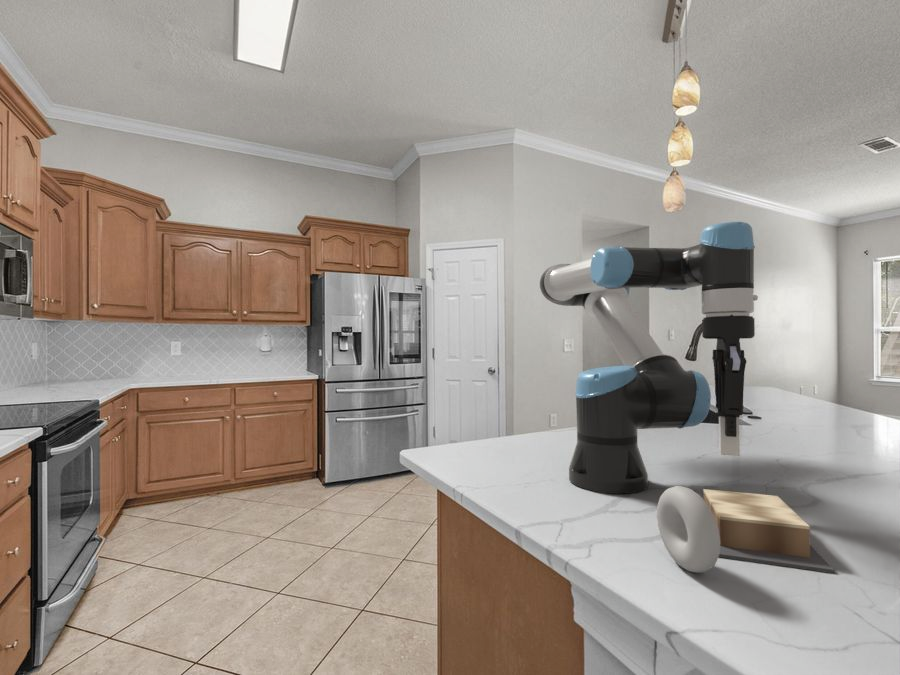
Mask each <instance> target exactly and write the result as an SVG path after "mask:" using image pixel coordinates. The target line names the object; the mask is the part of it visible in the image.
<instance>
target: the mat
mask: <svg viewBox="0 0 900 675" xmlns="http://www.w3.org/2000/svg"><path fill="white" fill-rule="evenodd" d="M718 558H722V559H725V558H726V559H731V560H739V561H747V562H753V563H760V564H766V565H767V564H768V565H772V566H773V565H774V566H780V567H781V566H782V567H788V568H795V569H803V570H810V571H815V572H824V573H831V574H835V573H836V570H835V569H834V567H833V566H832V565H831V564H829V562H828V561H826V560H825V558H824V557H823V556H822V555H821V554H820V553H819V552H818V551H817V550H816V549H815V548H814V546H812V545H811V544H810V558H809V557H802V556H794V555H787V554H779V553H771V552H764V551H756V550H749V549H741V548H734V547H726V546H720V554H719V557H718Z"/></svg>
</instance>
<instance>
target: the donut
mask: <svg viewBox="0 0 900 675" xmlns="http://www.w3.org/2000/svg"><path fill="white" fill-rule="evenodd" d="M657 502H658V503H657V508H656V520H657V527H658V530H659V534H660V538H661V541H662V543H663V545H664V547H665V549H666V550H667V552H668V554H669V556H670V558H672V559H673V561H674V562H675V563H676V564H677V565H679V566H680V567H681V568H683V569H685V570H687V571H688V572H690V573H705V572H708V571H710V569H712V568H713V567H714V566H715V565H716V564H717V562H718V559H719V558H720V557H719V554H720V543H721V542H720V535H719V529H718V526H717V523H716V520H715V517H714V515H713V513H712V511H711V510H710V508H709V506H708V505H707V504H706V502H705V501H704V498H703V497H702V496H701V495H700V494H698V493H697V492H695V491H694V490H693V489H691V488H689V487H685V486H681V485H675V486H672V487H669V488H667V489H665V490H664V492H663V493H662V494H661V495H660V497H659V499H658V501H657Z"/></svg>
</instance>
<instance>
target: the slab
mask: <svg viewBox="0 0 900 675" xmlns="http://www.w3.org/2000/svg"><path fill="white" fill-rule="evenodd" d="M702 492H703V493H702V494H703V495H702V496H703V497H702V498H703V500H704V501H705V502H706V504H707V505H708V506H709V508H710V510H711V511H712V513H713V515H714V517H715V520H716V523H717V526H718V529H719V535H720V542H721V543H720V546H726V547H734V548H741V549H749V550H756V551H764V552H771V553H779V554H787V555H794V556H802V557H809V558H810V545H811V536H810V535H811V534H810V532H811V531H810V525H809V524H808V523H807V522H806V521H804V519H802V518H801V517H800V516H799V515H798V514H797V513H796V512H795V511H794V510H793V509H792V508H791V507H790V506H789V505H788V504H786V502H784V500H782V499H781V498H780V497H779V496H778V495H770V494H761V493H752V492H751V493H750V492H741V491H739V492H738V491H728V490H718V489H717V490H716V489H705V488H703V489H702Z"/></svg>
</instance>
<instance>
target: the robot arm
mask: <svg viewBox="0 0 900 675" xmlns="http://www.w3.org/2000/svg"><path fill="white" fill-rule="evenodd" d="M753 234H754V233H753V227H752V226H751V224H749V223H747V222H745V221H728V222H719V223H716V224H715V223H714V224H711V225H709V226H706V227H704V228H703V230H702V231H701V234H700V239H699V242H700V243H699V244H696V245H693V246H689V247H685V248H683V247H680V248H677V247H676V248H675V247H672V248H671V247H631V246H630V247H628V246H627V247H625V246H620V245H617V246H611V247H607V246H605V247H601V248H599V249H597V250H596V251H595V253H594V254H593V256H592V257H590V258H587V259H584V260H581V261H578V262H575V263H558V264H555V265H551V266H550V267H548V268H546V269H545V271H543V273H542V275H541V277H540V280H539V288H540V292H541V294H542V295H543V297H544V298H545V299H546V300H547V301H549V302H551V303H553V304H556V305H558V306H564V307H565V306H566V307H570V306H571V307H575V306H576V307H577V306H578V307H583V309H584V310H585V312H586V313H587V314H588V315H589V316H590V317H592V318H595V319H597V321H598V323H599V325H600V326H601V328H602V330H603V332H604V333H605V335H606V337H607V339H608V341H609V342H610V343H611V345H612V347H613V349H614V350H615V353H616V354H617V356H618V358H619V359H620V361H621V363H622V364H623V365H614V366H604V367H603V366H602V367H596V368H590V369H587V370H584V371H581V372H580V373H579V374H578V375H577V377H576V387H575V393H574V394H575V399H576V402H575V403H576V438H577V439H576V445H575V448H574V451H573V455H572V458H571V460H570V463H569V467H568V480H569V481H570V483H571V484H573V485H575V486H576V487H580V488H581V489H585V490H589V491H593V492H599V493H606V494H607V493H608V494H631V493H632V494H633V493H639V492H642V491H644V490H646V489H647V488H648V487H649V475H648V471H647V469H646V466H645V463H644V461H643V456H642V455H641V450H640V449H639V446H638V445H639V444H638V430H647V429H648V430H649V429H651V430H652V429H653V430H654V429H684V428H690V427H696V426H699V425H700V424H702V423H703V421H705V420H706V418H707V417H708V414H709V412H710V408H711V399H712V394H711V387H710V384H709V383H708V380H707V378H706V377H705V376H704V375H703V374H702V373H701V372H698V371H696V370H695V371H694V370H691V369H690V370H685V369H684V368H683V367H682V365H681V364H680V362H679V361H678V360H677V359H676V358H675V357H674V356H672V355H670V354H665V353H663V351H662V349H661V348H660V347H659V345H658V344H657V343H656V341H655V340H654V339H653V336H652V335H651V334H650V332H649V331H648V330H647V328H646V327H645V325H644V324H643V322H642V321H641V319H640V318H639V317H638V315H637V313H636V312H635V311H634V310H633V308H632V307H631V305H630V304H629V302H628V301H627V300H628V297H629V294H630V290H631V289H632V288H633V289H634V288H651V289H652V288H653V289H654V288H657V289H659V288H660V289H661V288H662V289H665V290H668V291H676V290H677V291H679V290H681V291H683V290H687V289H690V288H695V287H699V286H700V287H701V297H700V298H701V301H700V302H701V313H702V315H704V316H705V317H703V319H702V320H701V329H702V330H701V332H702V334H701V336H702V338H704V339H707V340H711V339H713V340H715V339H716V346H715V347H716V349H713V350H712V358H711V360H712V362H713V363H712V364H713V369H714V370H713V372H714V388H715V408H716V409H717V411H716V412H715V413H716V414H715V415H716V417H718V453H719V454H720V455H721V456H732V457H740V455H741V454H740V451H741V450H740V416H742V415H743V413H744V410H743V408H744V407H743V406H744V389H745V370H746V365H747V359H746V357H745V350H744V349H741V342H740V341H741V339H753V338H755V334H756V333H755V330H756V327H755V326H756V325H755V318H754V316H752V315H751V316H750V314H751V313H754V312H755V302H754V301H758V300H759V299H758V298H759V296H758V295H757V294H754V291H755V290H754V288H755V284H754V282H755V280H754V279H755V264H754V263H755V262H754V260H755V256H754V255H755V254H754V250H755V248H756V247H755V243H754V235H753ZM630 288H631V289H630Z"/></svg>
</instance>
